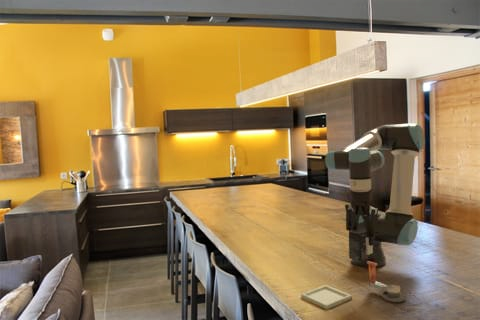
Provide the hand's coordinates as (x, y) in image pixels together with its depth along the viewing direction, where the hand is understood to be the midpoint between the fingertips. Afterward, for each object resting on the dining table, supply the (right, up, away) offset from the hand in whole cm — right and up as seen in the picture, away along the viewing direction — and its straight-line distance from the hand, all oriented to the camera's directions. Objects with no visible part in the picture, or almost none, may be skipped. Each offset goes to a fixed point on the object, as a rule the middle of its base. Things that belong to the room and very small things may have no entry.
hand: (362, 251), depth 149 cm
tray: (-13, -17, 0) cm, 22 cm away
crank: (+8, -15, 0) cm, 17 cm away
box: (0, -3, 0) cm, 3 cm away
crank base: (+10, -16, -3) cm, 20 cm away
